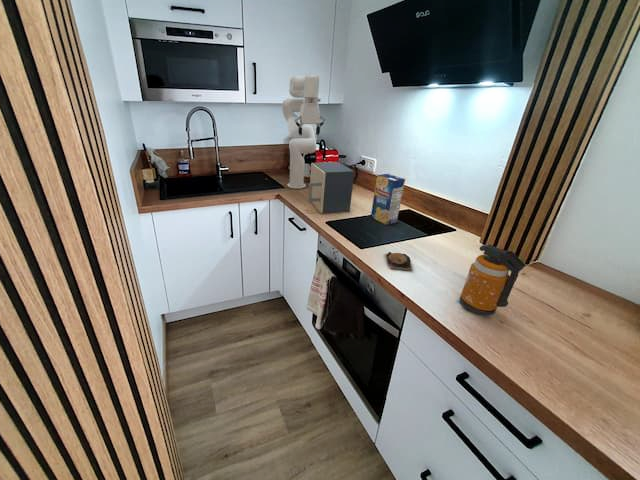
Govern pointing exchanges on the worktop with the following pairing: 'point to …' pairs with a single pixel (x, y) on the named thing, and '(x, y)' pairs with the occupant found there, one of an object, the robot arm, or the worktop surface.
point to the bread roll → (398, 261)
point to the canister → (490, 280)
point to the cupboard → (337, 187)
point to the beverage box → (387, 198)
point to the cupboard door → (317, 187)
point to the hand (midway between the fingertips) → (309, 134)
